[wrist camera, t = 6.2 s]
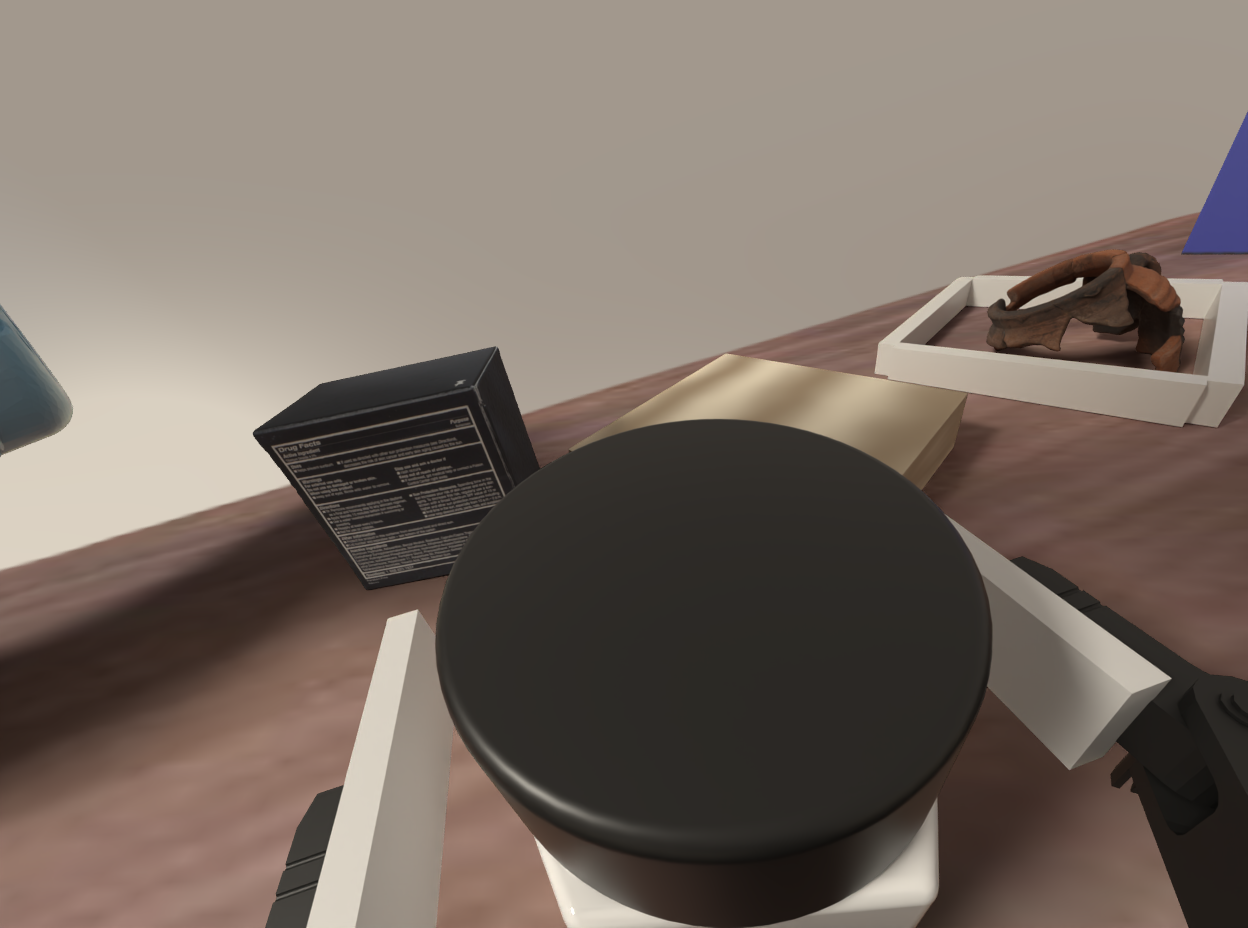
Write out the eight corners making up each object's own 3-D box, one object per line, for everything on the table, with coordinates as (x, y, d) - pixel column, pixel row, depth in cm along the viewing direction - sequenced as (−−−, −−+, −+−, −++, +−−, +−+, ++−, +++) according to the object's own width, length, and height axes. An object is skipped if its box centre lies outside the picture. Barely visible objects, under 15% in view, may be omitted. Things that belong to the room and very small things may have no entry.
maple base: (581, 494, 29) (568, 449, 27) (728, 393, 37) (726, 353, 35) (819, 628, 18) (825, 570, 17) (953, 446, 27) (968, 393, 25)
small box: (552, 490, 30) (501, 339, 25) (545, 559, 25) (479, 386, 19) (401, 519, 31) (316, 377, 25) (362, 594, 25) (242, 434, 19)
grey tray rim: (871, 376, 35) (875, 346, 34) (955, 301, 45) (961, 275, 44) (1216, 432, 24) (1244, 389, 22) (1229, 314, 33) (1249, 279, 32)
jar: (955, 881, 12) (1187, 567, 5) (722, 1186, 9) (600, 1318, 2) (723, 645, 19) (699, 378, 12) (548, 774, 16) (391, 517, 9)
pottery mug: (1165, 414, 26) (1116, 294, 25) (988, 424, 35) (943, 337, 34) (1243, 303, 29) (1206, 188, 28) (1063, 338, 38) (1025, 254, 37)
